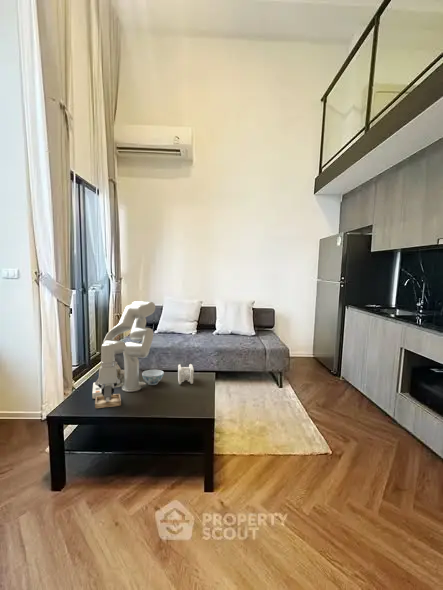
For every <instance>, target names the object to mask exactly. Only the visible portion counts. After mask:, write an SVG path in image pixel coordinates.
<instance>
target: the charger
mask: <svg viewBox="0 0 443 590" xmlns="http://www.w3.org/2000/svg"><path fill="white" fill-rule="evenodd" d="M109 400H111V386H105V385H104V401H106V402H109Z"/></svg>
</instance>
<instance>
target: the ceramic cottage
mask: <svg viewBox="0 0 443 590" xmlns="http://www.w3.org/2000/svg"><path fill="white" fill-rule="evenodd" d="M115 365H116V369H117V377H118V379H119V380H120V383H119V384H117V385H116V386H115V387H114V389H115V388H122V386H124V369H122V368H121V367H120V366H119V364H118V363H117V364H115ZM114 384H115V383H114ZM105 386H111V387H112V384H104V387H105Z"/></svg>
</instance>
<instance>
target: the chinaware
mask: <svg viewBox="0 0 443 590" xmlns="http://www.w3.org/2000/svg"><path fill="white" fill-rule="evenodd" d="M164 374H165V372H164V371H163V370H160V369H149V370H144V371H143V372H141V375H142V378H143V381H144V382H146V384H147V385H150V386H155V385H158V383H159V382H160V381H161V380H162V379H163V377H164Z"/></svg>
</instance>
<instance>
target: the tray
mask: <svg viewBox="0 0 443 590" xmlns="http://www.w3.org/2000/svg"><path fill="white" fill-rule="evenodd" d="M120 406H122V399H121V393H113V395H111V400H109V402H106V401H104V396H96V399H95V400H94V408H95V409H101V408H102V409H103V408H109V407H110V408H111V407H120Z"/></svg>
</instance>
